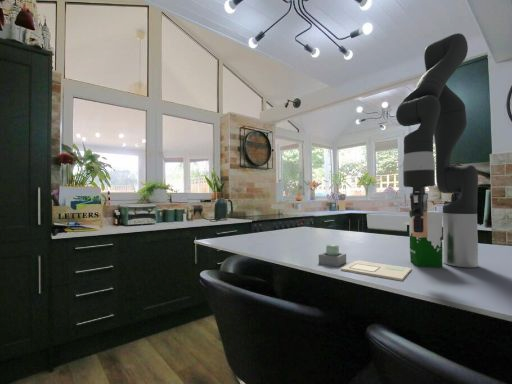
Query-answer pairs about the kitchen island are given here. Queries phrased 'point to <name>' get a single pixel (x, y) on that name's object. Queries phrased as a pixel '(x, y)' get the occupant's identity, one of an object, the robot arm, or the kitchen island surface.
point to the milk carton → (427, 242)
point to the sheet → (378, 270)
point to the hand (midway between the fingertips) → (419, 231)
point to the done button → (332, 250)
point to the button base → (332, 259)
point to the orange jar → (425, 232)
